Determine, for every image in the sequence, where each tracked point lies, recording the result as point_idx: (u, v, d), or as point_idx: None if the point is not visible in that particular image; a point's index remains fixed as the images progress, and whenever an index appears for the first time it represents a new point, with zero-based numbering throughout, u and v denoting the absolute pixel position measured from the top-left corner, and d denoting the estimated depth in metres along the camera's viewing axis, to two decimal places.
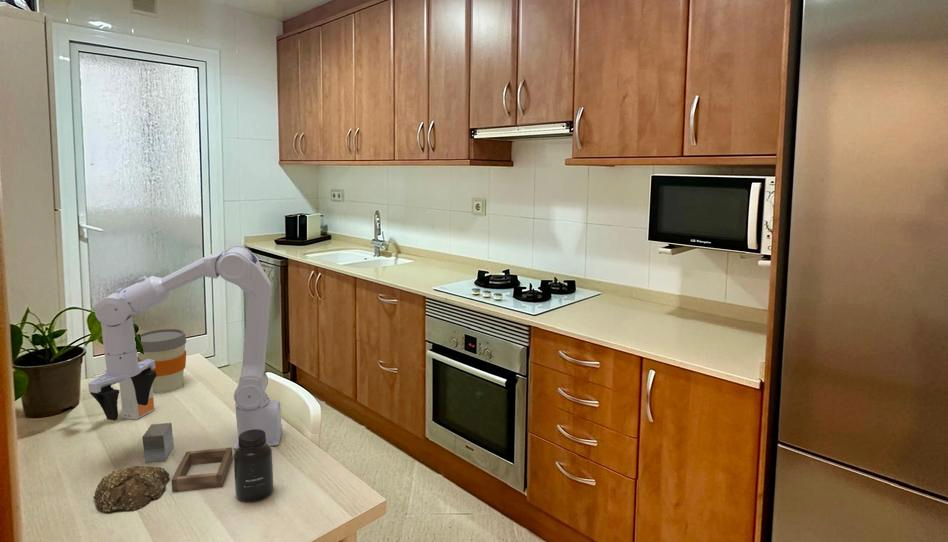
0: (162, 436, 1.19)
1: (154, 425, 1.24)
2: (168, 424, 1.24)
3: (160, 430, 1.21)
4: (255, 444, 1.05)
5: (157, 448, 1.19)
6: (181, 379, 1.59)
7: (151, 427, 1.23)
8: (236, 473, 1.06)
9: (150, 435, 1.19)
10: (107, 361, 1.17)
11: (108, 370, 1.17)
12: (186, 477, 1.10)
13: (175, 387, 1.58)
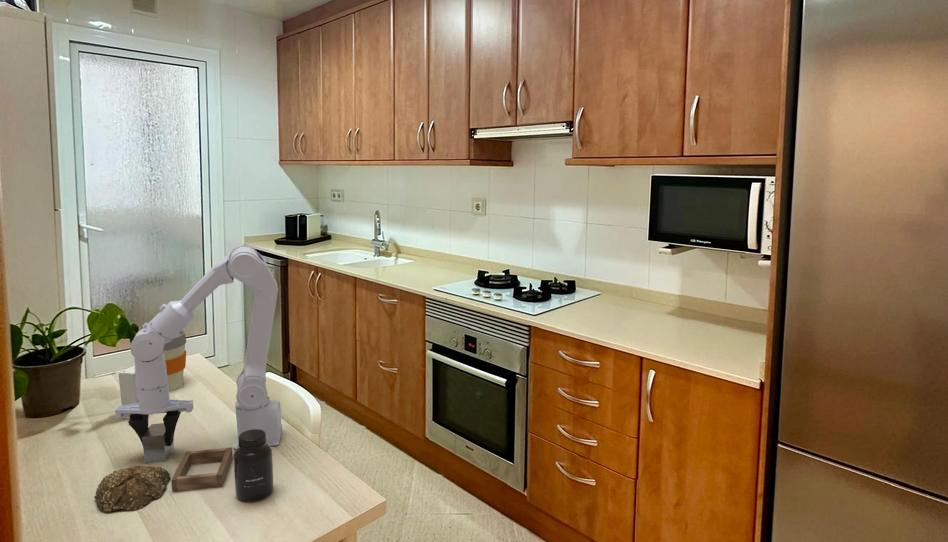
0: (162, 436, 1.19)
1: (154, 425, 1.24)
2: None
3: (160, 430, 1.21)
4: (255, 444, 1.05)
5: (157, 448, 1.19)
6: (181, 379, 1.59)
7: (151, 427, 1.23)
8: (236, 473, 1.06)
9: (150, 435, 1.19)
10: None
11: None
12: (186, 477, 1.10)
13: (175, 387, 1.58)
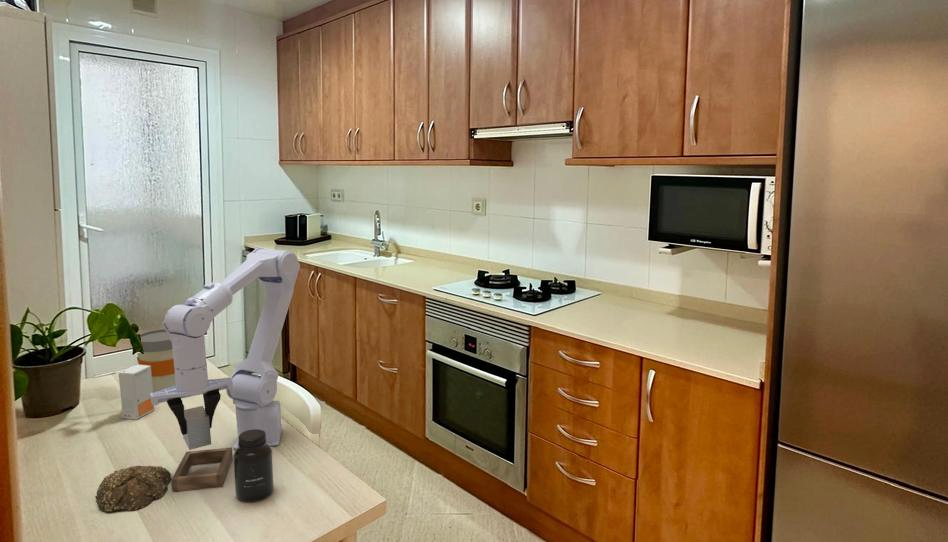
0: (208, 417, 1.13)
1: (186, 410, 1.15)
2: (201, 407, 1.16)
3: (199, 413, 1.14)
4: (255, 444, 1.05)
5: (202, 431, 1.12)
6: None
7: (184, 412, 1.14)
8: (236, 473, 1.06)
9: (194, 418, 1.11)
10: None
11: None
12: (186, 477, 1.10)
13: None
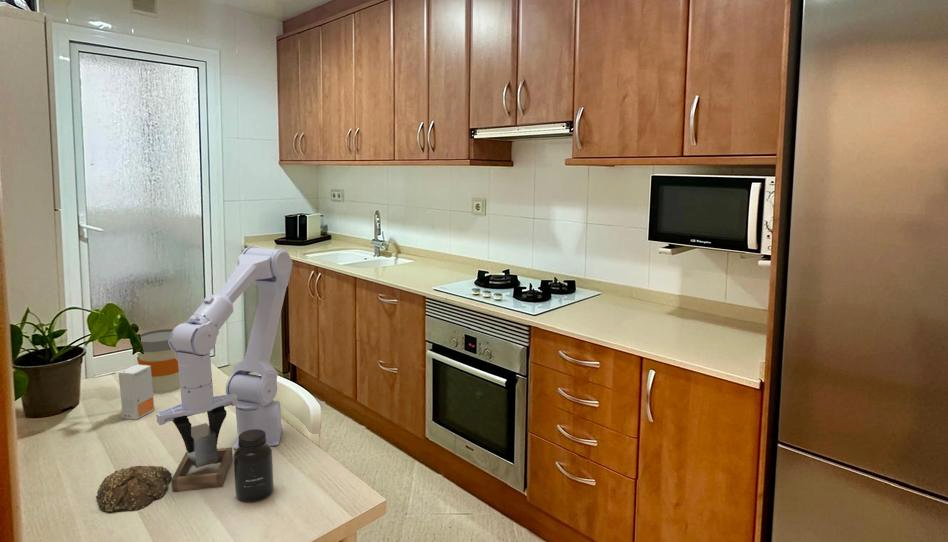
0: (214, 434, 1.13)
1: None
2: (205, 424, 1.16)
3: (204, 430, 1.14)
4: (255, 444, 1.05)
5: (209, 448, 1.13)
6: None
7: None
8: (236, 473, 1.06)
9: (201, 436, 1.12)
10: None
11: None
12: (186, 477, 1.10)
13: (175, 387, 1.58)
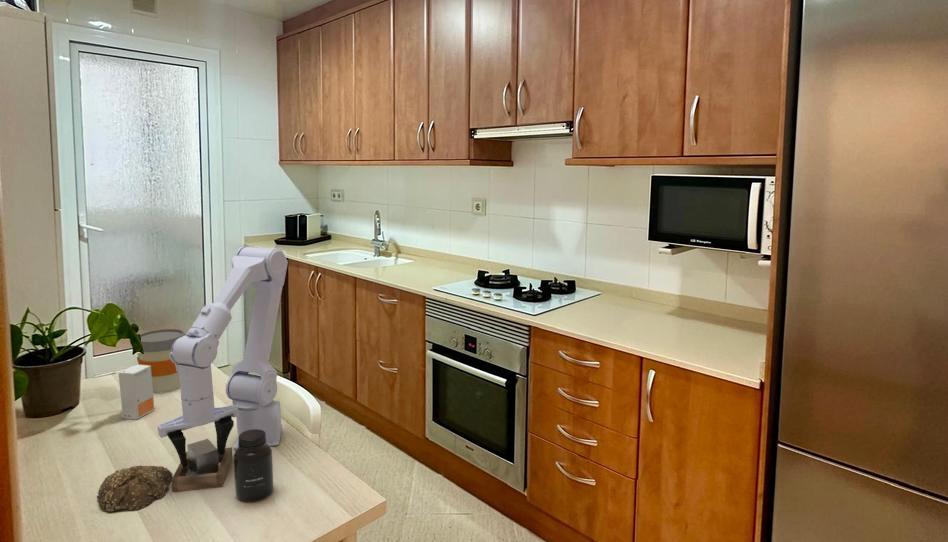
0: (216, 450, 1.14)
1: (192, 444, 1.15)
2: (207, 440, 1.17)
3: (206, 446, 1.15)
4: (255, 444, 1.05)
5: (211, 464, 1.13)
6: None
7: (191, 446, 1.15)
8: (236, 473, 1.06)
9: (203, 452, 1.12)
10: None
11: None
12: (186, 477, 1.10)
13: (175, 387, 1.58)
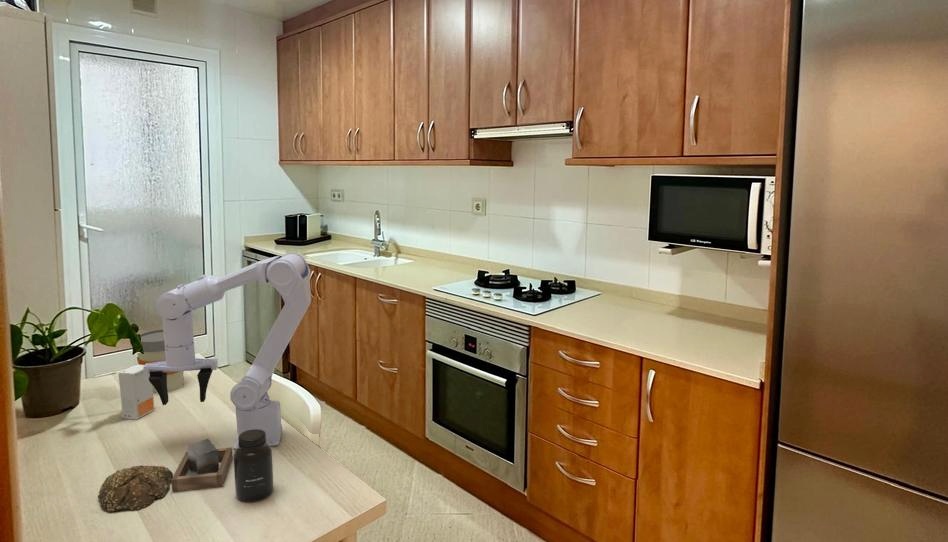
0: (216, 450, 1.14)
1: (192, 444, 1.15)
2: (207, 440, 1.17)
3: (206, 446, 1.15)
4: (255, 444, 1.05)
5: (211, 464, 1.13)
6: (181, 379, 1.59)
7: (191, 446, 1.15)
8: (236, 473, 1.06)
9: (203, 452, 1.12)
10: None
11: None
12: (186, 477, 1.10)
13: (175, 387, 1.58)
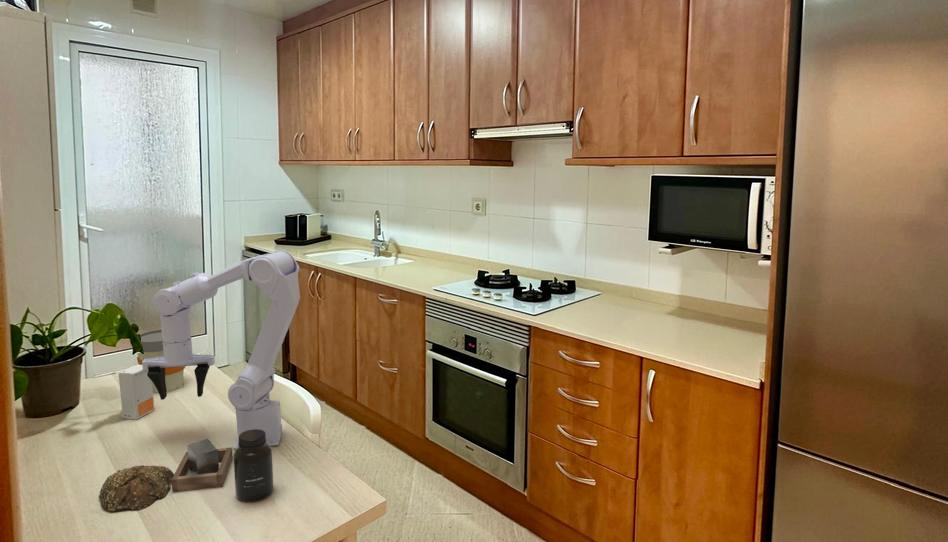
0: (216, 450, 1.14)
1: (192, 444, 1.15)
2: (207, 440, 1.17)
3: (206, 446, 1.15)
4: (255, 444, 1.05)
5: (211, 464, 1.13)
6: (181, 379, 1.59)
7: (191, 446, 1.15)
8: (236, 473, 1.06)
9: (203, 452, 1.12)
10: None
11: None
12: (186, 477, 1.10)
13: (175, 387, 1.58)
